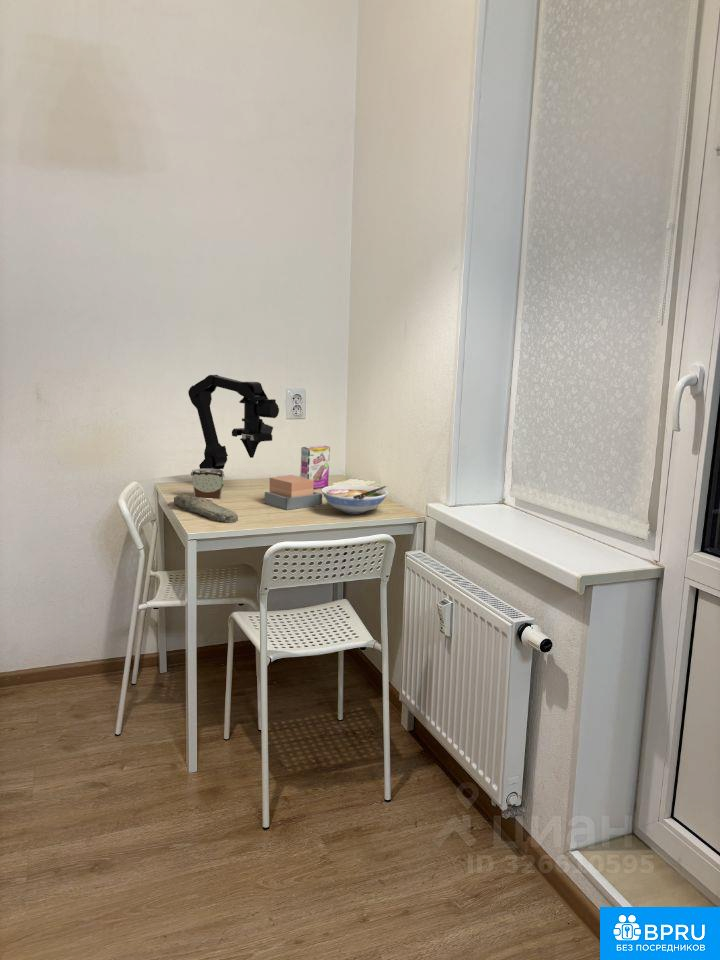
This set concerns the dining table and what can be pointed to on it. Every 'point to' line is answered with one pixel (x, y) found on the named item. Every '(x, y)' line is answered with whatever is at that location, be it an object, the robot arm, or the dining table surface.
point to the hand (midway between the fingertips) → (251, 457)
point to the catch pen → (293, 500)
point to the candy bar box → (315, 465)
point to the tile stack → (291, 486)
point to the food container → (207, 483)
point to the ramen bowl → (354, 497)
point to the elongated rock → (205, 508)
